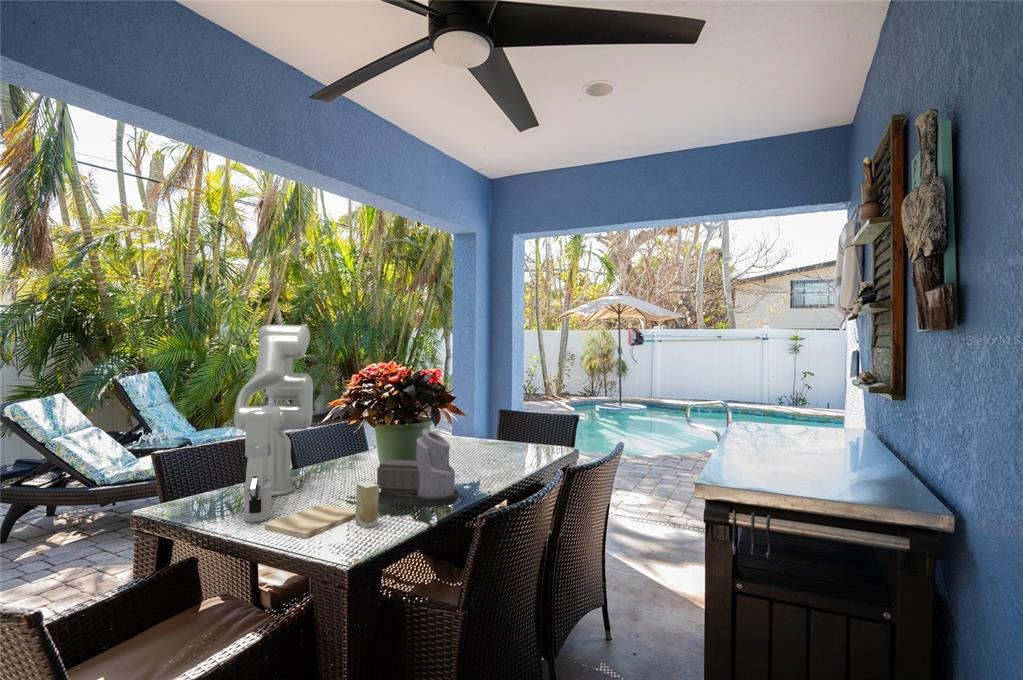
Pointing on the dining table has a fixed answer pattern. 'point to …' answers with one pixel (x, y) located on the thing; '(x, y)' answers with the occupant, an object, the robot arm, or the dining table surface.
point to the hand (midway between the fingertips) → (257, 508)
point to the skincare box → (367, 504)
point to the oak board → (311, 521)
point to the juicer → (420, 475)
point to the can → (265, 505)
